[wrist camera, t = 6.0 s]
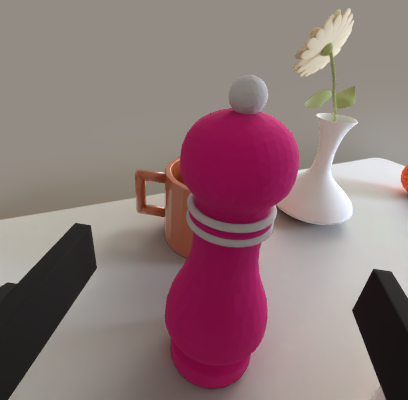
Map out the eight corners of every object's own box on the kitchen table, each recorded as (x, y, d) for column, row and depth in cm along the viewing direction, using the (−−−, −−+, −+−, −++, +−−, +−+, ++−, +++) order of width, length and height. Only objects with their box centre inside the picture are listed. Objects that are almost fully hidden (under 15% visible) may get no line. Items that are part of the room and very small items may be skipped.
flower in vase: (314, 189, 49) (367, 18, 36) (366, 227, 40) (461, 16, 27) (247, 196, 45) (281, 6, 32) (287, 240, 36) (357, -2, 23)
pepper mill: (149, 331, 23) (142, 63, 13) (220, 298, 27) (257, 66, 17) (194, 420, 18) (238, 92, 8) (275, 364, 22) (373, 88, 12)
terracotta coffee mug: (253, 215, 40) (265, 159, 36) (254, 271, 30) (270, 203, 26) (150, 200, 41) (149, 144, 37) (119, 249, 32) (113, 181, 27)
